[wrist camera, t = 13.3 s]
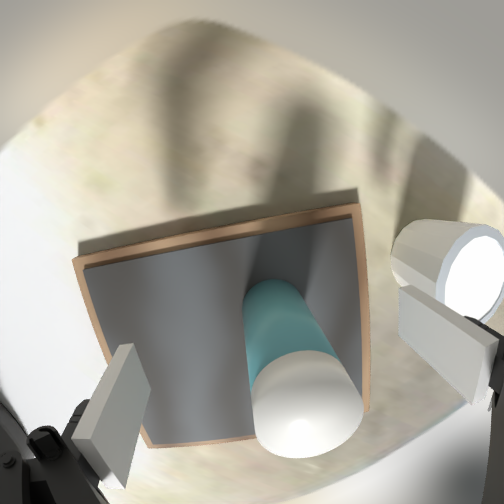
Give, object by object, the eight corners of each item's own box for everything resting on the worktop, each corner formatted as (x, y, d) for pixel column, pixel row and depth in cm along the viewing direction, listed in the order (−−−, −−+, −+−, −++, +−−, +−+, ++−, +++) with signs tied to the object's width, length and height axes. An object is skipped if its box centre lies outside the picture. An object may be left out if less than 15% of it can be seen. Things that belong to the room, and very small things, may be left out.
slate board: (150, 441, 25) (147, 450, 23) (77, 256, 20) (69, 260, 19) (365, 404, 25) (370, 413, 24) (354, 202, 21) (361, 203, 20)
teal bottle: (253, 343, 21) (272, 468, 11) (233, 290, 20) (239, 402, 10) (309, 323, 21) (368, 436, 11) (293, 270, 20) (355, 363, 10)
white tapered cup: (373, 228, 22) (427, 249, 15) (445, 199, 21) (507, 209, 15) (392, 311, 23) (440, 353, 16) (457, 277, 23) (512, 306, 16)
